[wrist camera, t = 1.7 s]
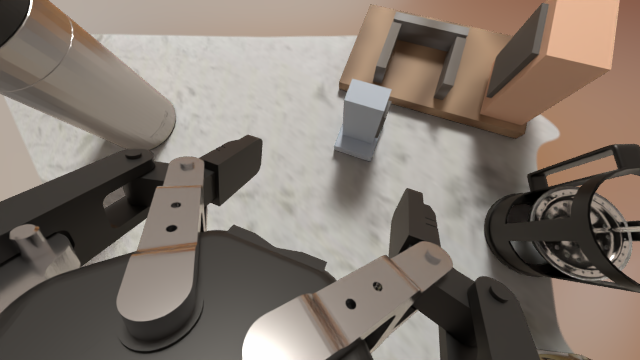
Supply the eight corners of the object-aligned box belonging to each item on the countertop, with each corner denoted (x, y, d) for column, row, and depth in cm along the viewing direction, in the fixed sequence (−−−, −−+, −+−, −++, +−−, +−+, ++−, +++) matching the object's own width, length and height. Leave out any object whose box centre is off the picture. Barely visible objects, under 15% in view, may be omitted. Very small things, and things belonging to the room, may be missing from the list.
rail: (339, 88, 34) (339, 66, 30) (369, 13, 37) (373, -17, 33) (515, 138, 31) (545, 121, 27) (533, 51, 34) (563, 23, 29)
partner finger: (475, 112, 31) (539, 53, 21) (488, 61, 32) (552, -16, 22) (521, 125, 30) (610, 69, 20) (532, 72, 31) (619, -3, 22)
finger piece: (334, 149, 32) (333, 113, 23) (348, 111, 34) (353, 63, 24) (370, 161, 32) (383, 129, 22) (383, 122, 33) (401, 75, 24)
